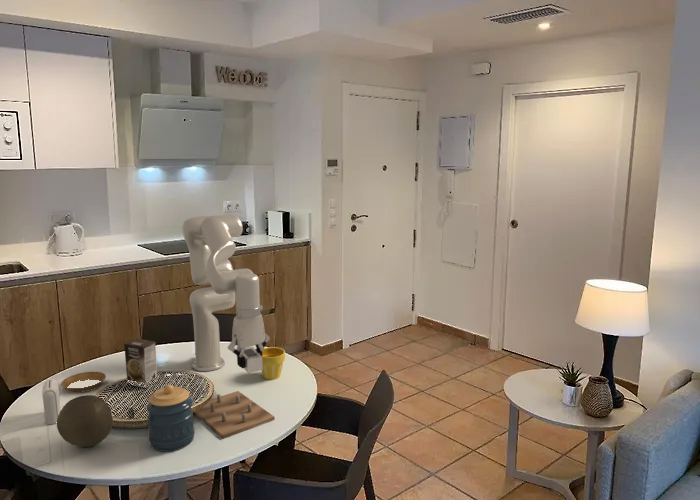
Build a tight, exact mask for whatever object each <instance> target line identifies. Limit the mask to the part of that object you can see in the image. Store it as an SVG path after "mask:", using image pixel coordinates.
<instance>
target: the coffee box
mask: <svg viewBox="0 0 700 500" xmlns="http://www.w3.org/2000/svg"><path fill="white" fill-rule="evenodd" d="M123 345H124V355H125V367H126V368H125V369H126V371H125V372H126V380H127V379H128V380H132V381H137V382H144V383H146V382H148V381H150V380H152V379H154V378H155V377H157V378H158V368H157V367H158V366H157V365H158V363H157V350H156V341H153V340H147V339H143V338H134V339H131V340H129V341H127V342H125V343H124V344H123Z"/></svg>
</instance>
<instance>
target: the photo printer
mask: <svg viewBox="0 0 700 500" xmlns="http://www.w3.org/2000/svg"><path fill="white" fill-rule="evenodd" d="M41 391H42V393H41V395H42V402H43V403H42V404H43V410H44V411H43V412H44V419H45V423H46V424H47V425H49V424H50V425H54V424H53V423H55V424H57V423H56V422H57V418H58V415H59V413H60V411H61V410H62V408H61V407H62V406H61V400H60V392H59V383H58V381H57V380H56V379H55V378H49V379H47V380H45V382H44V383H43V386H42V390H41Z"/></svg>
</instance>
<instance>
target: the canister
mask: <svg viewBox="0 0 700 500" xmlns="http://www.w3.org/2000/svg"><path fill="white" fill-rule="evenodd" d="M148 401H149V403H148V402H147V403H148V404H147V406H146V409H147V411H148V412H149V414H148V416H146V420H147V423H148V425H147V426H148V427H147V428H148V442H149V446H150V447H151V448H152V449H153V450H156V451H158V452H173V451H177V450H180V449H183V448H185V447H186V446H187V447H188V445H190V444H191V443H193V440H194V438H195V434H196V433H195V426H194V413H193V409H192V408H191V406H193V402H194V401H193V398H192V397H191V396H190V392H189V391H188V390H187V389H186V388H183V387H181V386H173V385H172V384H166V385H165V386H164V387H161V388H159V389H157V390H155V392H153V393H151V395H150V396H149V397H148Z"/></svg>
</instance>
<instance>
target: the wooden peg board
mask: <svg viewBox="0 0 700 500" xmlns="http://www.w3.org/2000/svg"><path fill="white" fill-rule="evenodd" d="M209 400H210V401H209V402H208V403H207V404H206V405H205V406H204V407H203V408H202V409H201V410H199V411H198V412H196V414H195V416H197V417H198V418H199V419H200V420H201V421H203V423H204V424H205V425H207V426H208V427H209V428H210V429H212V431H213V432H215V434H217V435H218V436H219V437H221V439H227V438H230V437H232V436H236V435H237V434H240V433H243V432H244V431H245V432H246V431H248V430H251V429H254V428H257V427H259V426H261V425H263V424H266V423H269V422H272V421H275V418H276V417H275V415H273V414H271V413H270V412H269V411H267V410H266V409H264V408H263V407H261V406H260V405H259V404H257V403H256V402H254V401H253V400H252V399H250V398H249V397H247V395H244V394H243V393H242V392H240V391H239V390H237V391H234V392H231V393H230V392H229V393H227V394H224V395H221V394H217V395H216V397H215V398H212V399H209Z"/></svg>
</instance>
